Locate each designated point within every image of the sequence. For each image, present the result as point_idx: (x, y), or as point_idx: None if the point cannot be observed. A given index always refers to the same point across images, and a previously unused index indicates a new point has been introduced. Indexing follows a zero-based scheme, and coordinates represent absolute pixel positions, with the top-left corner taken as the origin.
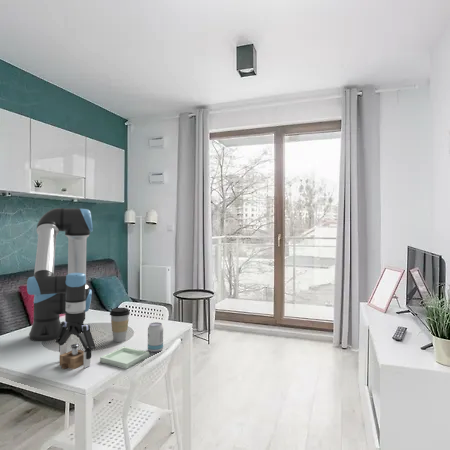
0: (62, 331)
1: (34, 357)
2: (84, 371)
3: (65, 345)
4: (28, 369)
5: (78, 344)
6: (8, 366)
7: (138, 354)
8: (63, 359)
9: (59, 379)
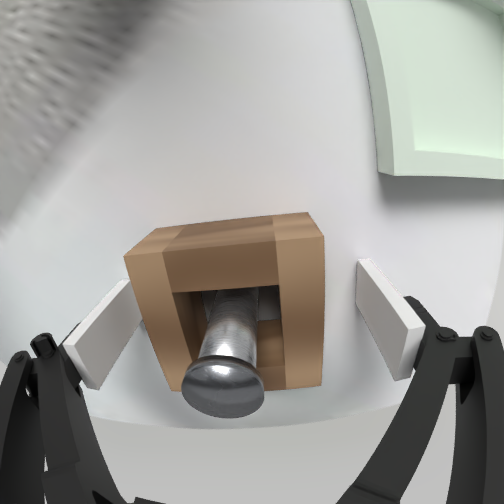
0: (35, 473)
1: (27, 330)
2: None
3: (84, 348)
4: (135, 411)
5: (239, 373)
6: None
7: (468, 2)
8: None
9: (340, 410)
